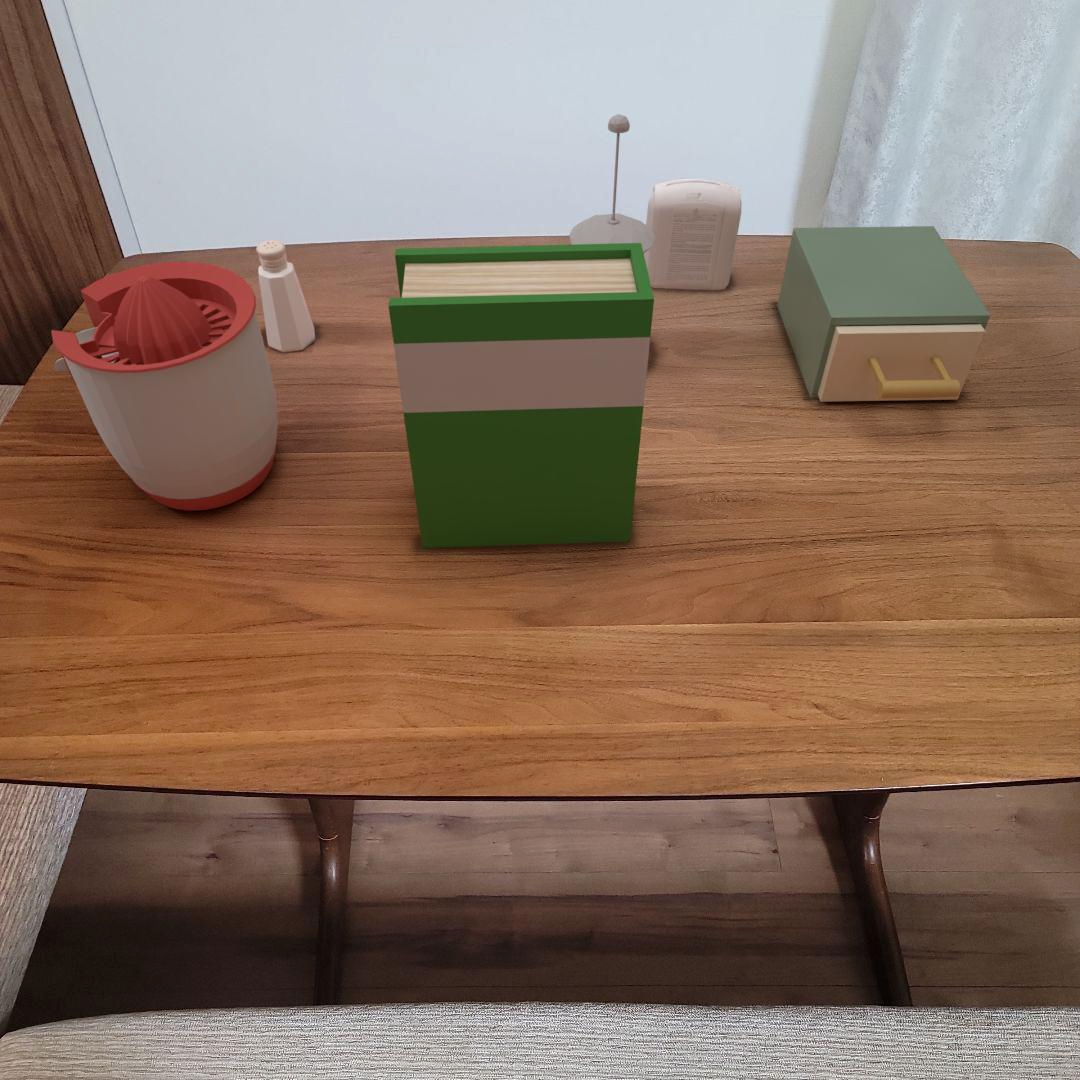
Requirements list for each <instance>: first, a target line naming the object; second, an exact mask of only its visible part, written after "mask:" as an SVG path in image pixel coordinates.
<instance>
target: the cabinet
mask: <svg viewBox="0 0 1080 1080" xmlns="http://www.w3.org/2000/svg"><path fill="white" fill-rule="evenodd" d="M936 229H937V228H936V227H935V226H933V225H921V226H919V225H918V226H916V225H914V226H913V225H912V226H849V227H848V226H846V227H844V226H842V227H841V226H840V227H835V226H834V227H794V228H793V229H792V234H791V239H790V243H789V247H788V252H787V258H786V261H785V267H784V272H783V277H782V282H781V287H780V291H779V295H778V301H777V305H776V306H777V309H778V311H779V315H780V317H781V320H782V323H783V325H784V328H785V331H786V334H787V337H788V339H789V342H790V345H791V348H792V351H793V353H794V356H795V359H796V361H797V364H798V368H799V370H800V373H801V376H802V378H803V382H804V384H805V386H806V387H805V388H806V389H807V390H806V391H807V393H808V396H809V399H819V396H818V392H819V388H820V384H821V380H822V377H823V373H824V369H825V365H826V362H827V358H828V354H829V351H830V347H831V343H832V339H833V336H834V332H835V328H836V326H839V325H894V324H962V323H964V325H968V324H981V325H982V327H983V329H984V330H985V331H986V328H987V325H988V322H989V320H990V317H991V314H990V312H989V311H988V309H987V307H986V306H985V304H984V302H983V301H982V299H981V297H980V296H979V295H978V293H977V291H976V290H975V289H974V287H973V286H972V284H971V282H970V281H969V279H968V278H967V276H966V275H965V273H964V271H963V270H962V268H961V267H960V265H959V264H958V262H957V260H956V259H955V257H954V256H953V254H952V253H951V251H950V250H949V248H948V246H947V245H946V243H945V242H944V240H943V239H942V237H941V235H940V233H938V231H937V230H936Z"/></svg>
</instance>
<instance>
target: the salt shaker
mask: <svg viewBox="0 0 1080 1080" xmlns="http://www.w3.org/2000/svg"><path fill="white" fill-rule="evenodd" d="M255 250H256V253H257V254H258V259H259V262H260V266H258V283H259V289H260V290H259V291H260V297H261V304H262V311H263V319H264V324H265V333H266V340H267V341H266V342H267V346H268V347H269V348H272V349H274V350H276V351H278V352H281V353H291V352H298V351H299V352H300V351H303V350H304V349H305V348H307V347H308V346H310V345H311V344H313V343H314V342H315V341H316V329H315V326H314V323H313V320H312V317H311V314H310V311H309V308H308V305H307V301H306V299H305V296H304V293H303V290H302V287H301V284H300V281H299V278H298V274H297V272H296V269H295V266H294V264H293V263H292V262H290V261H288V260H287V259H288V256H287V253H286V244H285V243H284V242H282V241H281V240H278V239H268V240H263V241H262V242H260V243H259V244H258V245H257V246H256V249H255Z"/></svg>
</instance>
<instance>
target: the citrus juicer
mask: <svg viewBox="0 0 1080 1080" xmlns="http://www.w3.org/2000/svg"><path fill="white" fill-rule="evenodd" d="M80 293H81V295H82V299H83V301H84V304H85V307H86V309H87V313H88V315H89V319H90V321H91V323H92V325H93V327H91V328H87V329H84V330H81V331H79V332H76V333H75V332H68V331H63V330H62V331H61V330H54V329H51V338H52V344H53V345H54V347H55V348H56V350H57V351H58V353H59V354H60V355H61V357H62V358H59V359H57V360H56V361H55V362H54V364H53V368H54V372H55V373H57V372H59V373H61V372H67V371H68V372H69V374H70V378H71V379H72V381H73V383H74V385H75V386H76V387H77V390H78V391H79V393H80V397H81V398H82V400H83V402H84V405H85V407H86V409H87V411H88V413H89V417H90V418H91V420H92V423H93V425H94V427H95V428H96V430H97V432H98V434H99V436H100V438H101V439H102V441H103V444H104V445H105V447H106V448H107V450H108V451H109V453H110V454H111V456H112V457H113V458H114V460H115V461H116V462H117V463H118V466H120V468H121V470H123V471H124V472H125V474H127V475H128V476H129V478H130V479H131V480H132V482H133V483H134V484H135V485H136V486H137V487H138V488H139V489H140V490H142V491H143V492H144V493H145V494H146V495H148V496H149V497H150V498H152V499H153V500H154V501H155V502H157V503H159V504H161V505H163V506H166V508H167V507H169V508H171V509H174V510H180V511H189V512H190V511H205V510H210V509H211V510H213V509H216V508H220V507H224V506H226V505H230V504H232V503H235V502H237V501H239V500H241V499H243V498H245V497H247V496H248V495H249V494H251V493H253V491H255V490H256V489H258V488H259V487H260V486H261V485H262V484H263V482H264V481H265V480H266V478H267V477H268V476H269V474H270V472H271V470H272V467H273V463H274V459H275V456H276V450H277V447H278V427H279V421H278V420H279V419H278V402H277V400H278V399H277V395H276V389H275V383H274V378H273V374H272V369H271V365H270V362H269V358H268V354H267V350H266V346H265V343H264V339H263V336H262V335H263V334H262V332H261V328H260V325H259V324H260V323H259V319H258V316H257V313H256V312H257V311H256V308H257V301H256V300H257V299H256V294H255V293H254V290H253V288H252V287H251V285H250V284H249V283H248V282H247V281H246V280H245V278H243V277H242V276H240V275H239V274H237V273H235V271H232V270H229V269H227V268H224V267H222V266H218V265H214V264H209V263H204V262H196V261H195V262H194V261H165V262H157V263H150V264H145V265H141V266H140V265H139V266H135V267H131V268H127V269H124V270H121V271H118V272H114V273H112V274H110V275H108V276H106V277H102V278H100V279H98V280H96V281H94V282H93V283H90V284H89V285H88V286H86V287H85V288H83V289H81V290H80Z"/></svg>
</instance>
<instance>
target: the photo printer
mask: <svg viewBox="0 0 1080 1080" xmlns="http://www.w3.org/2000/svg"><path fill="white" fill-rule="evenodd" d="M741 195H742V194H741V192H740V188H739V187H737V186H735V185H733V184H731V183H727V182H723V181H720V180H715V179H709V178H695V177H693V178H690V177H689V178H678V179H671V180H667V181H662V182H659V183H657V184H654V185H653V188H652V193H651V195H650V196H649V199H648V202H647V209H646V211H647V212H646V222H645V225H646V226H648V227H649V228H650V229H652V231H653V234H654V236H655V240H654V243H653V245H652V247H651V248H650V249H649V250H647V251H646V252H645V253H644V257H645V262H646V266H647V270H648V275H649V279H650V283H651V288H652V289H653V288H655V289H669V290H693V291H695V290H697V291H701V290H702V291H721V290H726V288H727V287H728V285H729V283H730V278H731V274H732V273H731V272H732V267H733V261H734V255H735V251H736V246H737V239H738V234H739V228H740V222H741V218H742V217H741V216H742V196H741Z"/></svg>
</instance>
